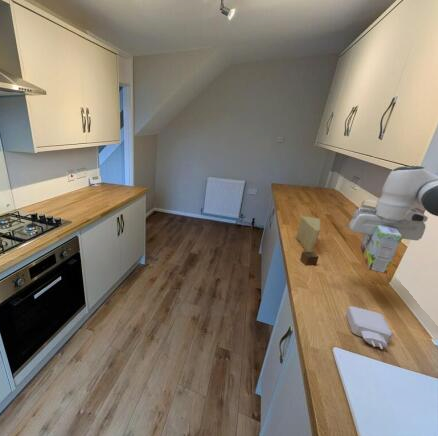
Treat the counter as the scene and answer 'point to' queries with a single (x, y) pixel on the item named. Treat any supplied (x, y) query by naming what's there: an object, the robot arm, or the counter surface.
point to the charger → (369, 326)
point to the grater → (367, 206)
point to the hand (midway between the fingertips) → (377, 245)
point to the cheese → (308, 232)
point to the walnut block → (309, 258)
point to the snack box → (381, 248)
